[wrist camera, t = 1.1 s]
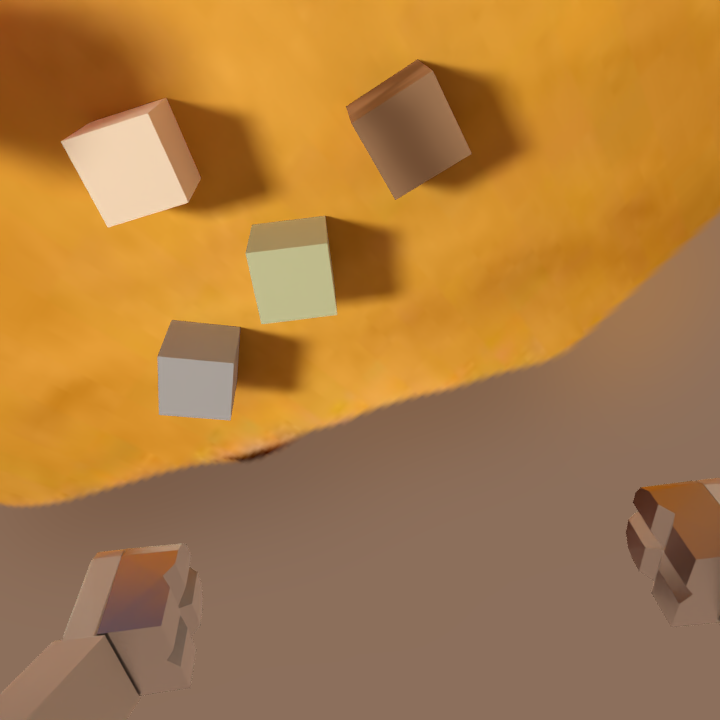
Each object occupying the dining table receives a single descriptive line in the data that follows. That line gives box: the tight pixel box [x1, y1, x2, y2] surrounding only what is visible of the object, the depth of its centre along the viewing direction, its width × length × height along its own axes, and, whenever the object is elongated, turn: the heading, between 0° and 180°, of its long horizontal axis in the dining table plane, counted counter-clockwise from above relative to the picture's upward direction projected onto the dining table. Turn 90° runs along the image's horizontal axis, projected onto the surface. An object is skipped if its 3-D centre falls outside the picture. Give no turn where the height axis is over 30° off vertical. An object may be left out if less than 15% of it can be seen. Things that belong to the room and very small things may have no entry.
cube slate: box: [158, 320, 240, 420], centre depth 43 cm, size 5×5×5 cm
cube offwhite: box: [61, 98, 201, 227], centre depth 34 cm, size 5×5×5 cm
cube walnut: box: [346, 59, 472, 200], centre depth 34 cm, size 5×5×5 cm
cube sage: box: [246, 216, 337, 324], centre depth 39 cm, size 5×5×5 cm
